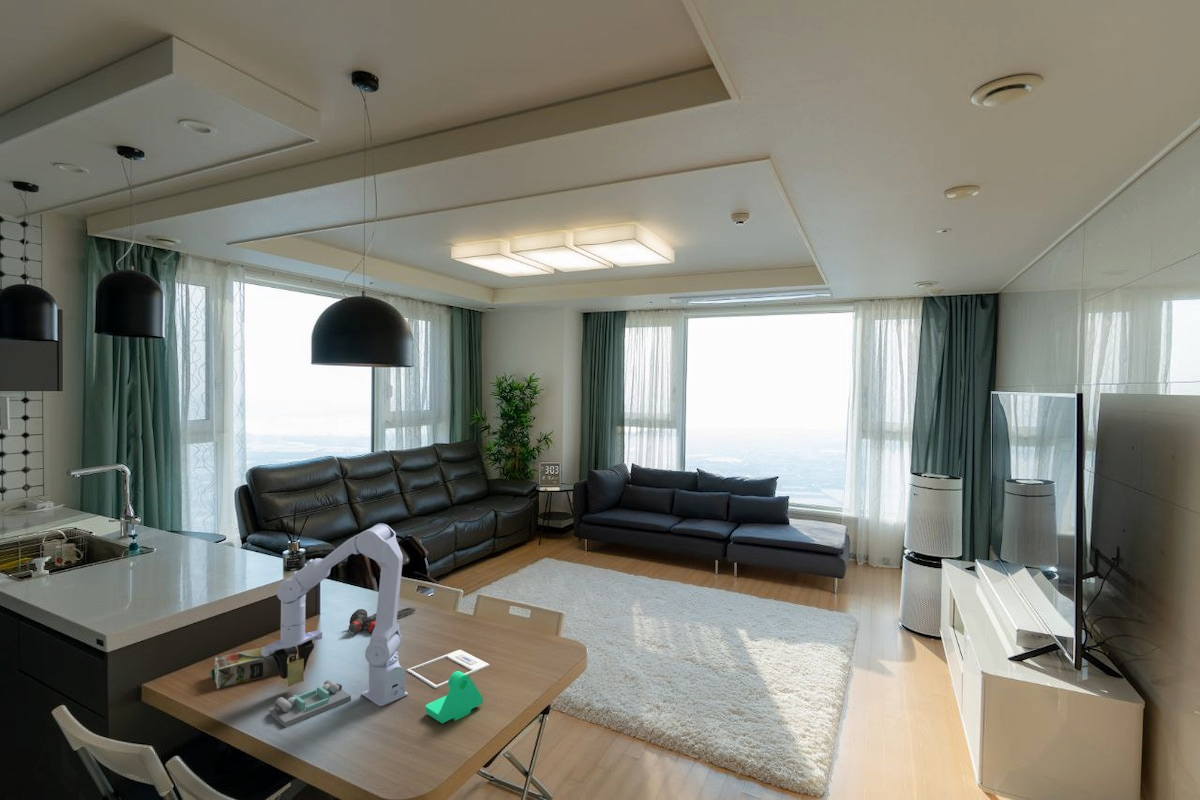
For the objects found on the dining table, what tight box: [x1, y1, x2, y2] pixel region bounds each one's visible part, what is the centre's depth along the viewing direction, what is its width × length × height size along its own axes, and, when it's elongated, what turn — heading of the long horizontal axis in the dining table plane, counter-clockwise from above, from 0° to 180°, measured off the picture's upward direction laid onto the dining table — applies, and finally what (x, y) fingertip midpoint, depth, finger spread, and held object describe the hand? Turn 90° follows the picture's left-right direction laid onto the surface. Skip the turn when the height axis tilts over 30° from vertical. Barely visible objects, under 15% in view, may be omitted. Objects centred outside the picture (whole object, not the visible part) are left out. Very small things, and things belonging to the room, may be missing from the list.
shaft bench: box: [268, 679, 352, 728], centre depth 143 cm, size 9×16×4 cm, turn 141°
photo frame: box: [406, 649, 491, 689], centre depth 165 cm, size 15×1×18 cm
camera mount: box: [425, 670, 484, 724], centre depth 142 cm, size 12×8×10 cm, turn 140°
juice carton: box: [210, 646, 298, 690], centre depth 160 cm, size 20×10×6 cm, turn 128°
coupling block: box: [280, 653, 305, 688], centre depth 150 cm, size 4×4×7 cm
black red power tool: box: [348, 606, 416, 635], centre depth 195 cm, size 6×26×15 cm
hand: (292, 674), depth 150 cm, fingers closed on coupling block, 4 cm apart
